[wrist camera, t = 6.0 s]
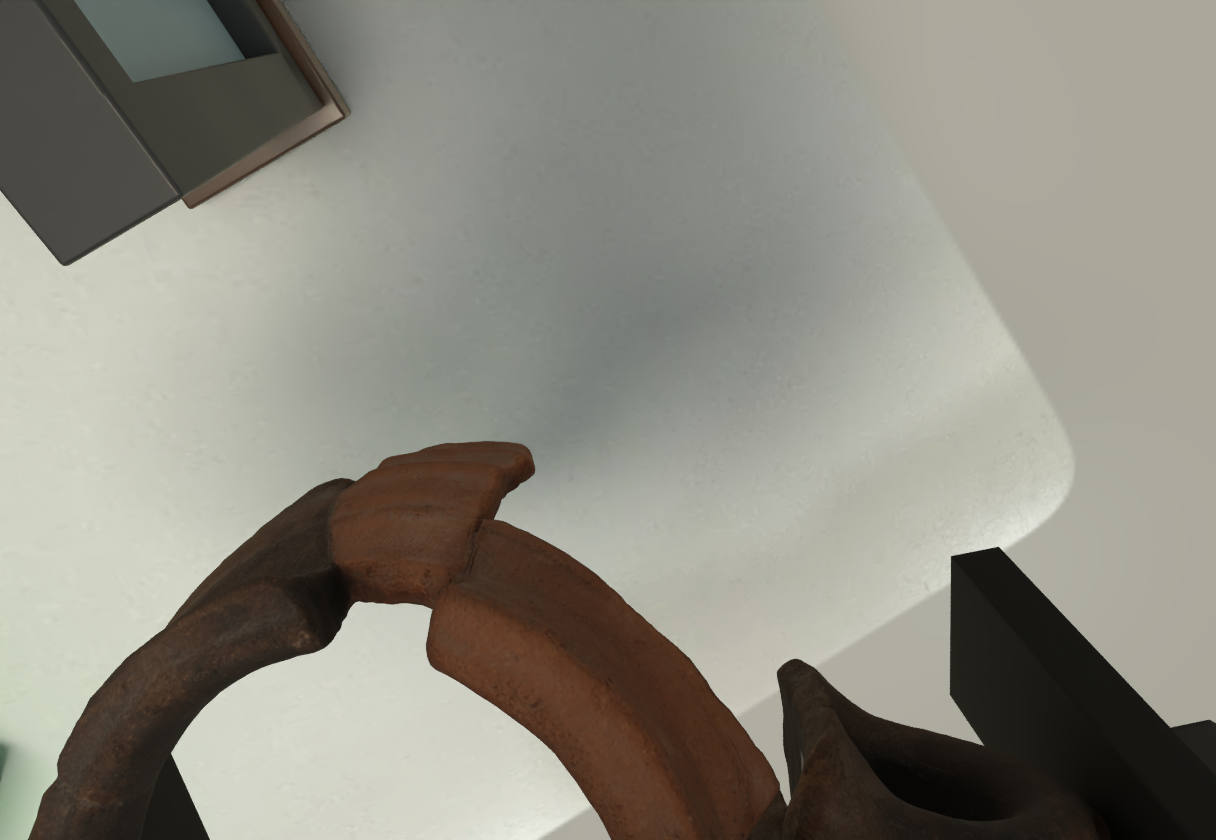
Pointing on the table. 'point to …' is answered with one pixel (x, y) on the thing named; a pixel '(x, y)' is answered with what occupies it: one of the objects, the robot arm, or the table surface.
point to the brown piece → (302, 132)
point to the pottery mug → (535, 680)
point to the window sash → (133, 108)
